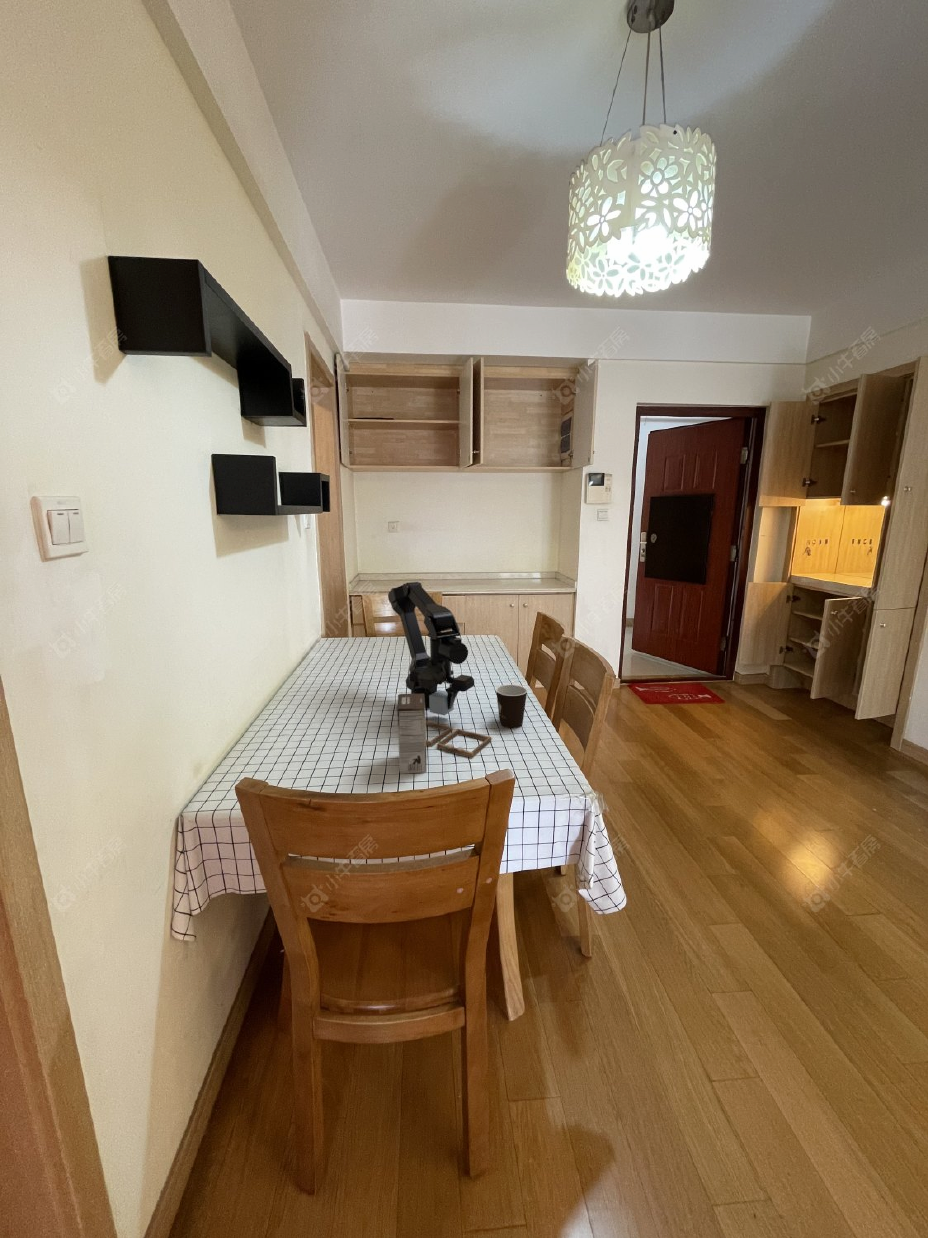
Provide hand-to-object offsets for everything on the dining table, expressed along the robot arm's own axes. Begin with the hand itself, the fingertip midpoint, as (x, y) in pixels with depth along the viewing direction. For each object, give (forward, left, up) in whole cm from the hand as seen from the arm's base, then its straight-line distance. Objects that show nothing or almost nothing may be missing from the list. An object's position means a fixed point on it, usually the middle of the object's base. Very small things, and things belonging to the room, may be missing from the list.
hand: (441, 707), depth 138 cm
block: (0, 0, -1) cm, 1 cm away
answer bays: (+7, -10, -4) cm, 13 cm away
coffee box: (+7, -24, -4) cm, 26 cm away
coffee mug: (+18, +9, -4) cm, 21 cm away
